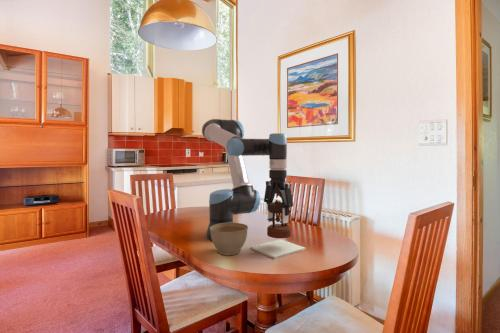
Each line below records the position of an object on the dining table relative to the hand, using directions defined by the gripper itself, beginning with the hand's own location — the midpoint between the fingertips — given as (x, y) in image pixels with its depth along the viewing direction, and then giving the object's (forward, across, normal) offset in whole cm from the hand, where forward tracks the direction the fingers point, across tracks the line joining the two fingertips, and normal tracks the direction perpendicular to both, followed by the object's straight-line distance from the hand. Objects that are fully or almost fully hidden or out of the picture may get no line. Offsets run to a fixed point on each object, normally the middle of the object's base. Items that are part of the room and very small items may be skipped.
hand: (277, 220), depth 130 cm
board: (+13, 0, 0) cm, 13 cm away
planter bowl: (+13, -10, -19) cm, 25 cm away
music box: (+7, 0, 0) cm, 7 cm away
